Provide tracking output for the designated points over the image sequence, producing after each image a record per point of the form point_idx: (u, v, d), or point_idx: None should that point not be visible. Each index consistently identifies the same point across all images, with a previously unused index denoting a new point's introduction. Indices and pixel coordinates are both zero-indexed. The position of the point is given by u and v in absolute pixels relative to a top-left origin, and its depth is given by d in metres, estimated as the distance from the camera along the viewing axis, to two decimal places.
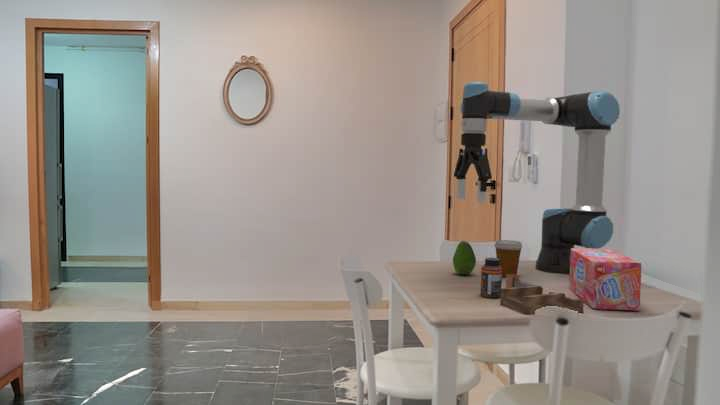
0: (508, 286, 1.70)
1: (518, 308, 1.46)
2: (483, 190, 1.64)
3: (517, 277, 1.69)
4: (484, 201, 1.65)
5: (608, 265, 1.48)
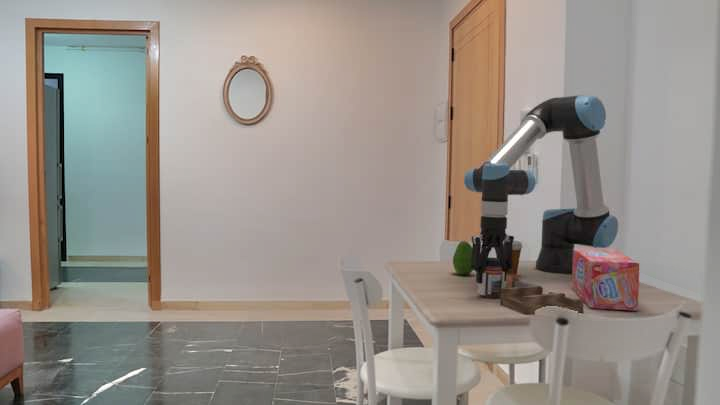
0: (508, 286, 1.70)
1: (518, 308, 1.46)
2: (477, 281, 1.60)
3: (517, 277, 1.69)
4: (482, 294, 1.60)
5: (606, 265, 1.49)
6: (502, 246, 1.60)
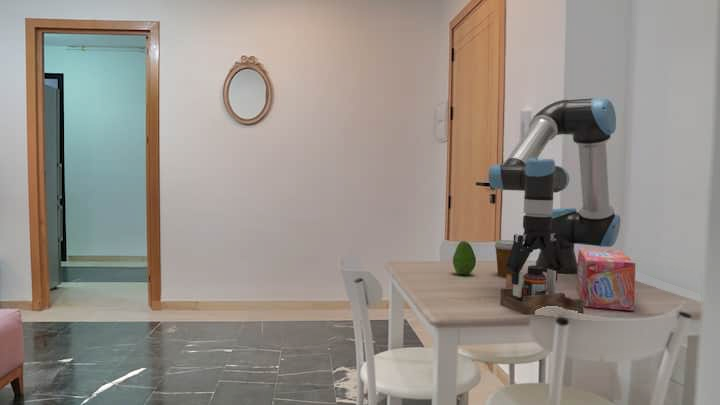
0: (508, 286, 1.70)
1: (518, 308, 1.46)
2: (512, 282, 1.48)
3: None
4: (518, 296, 1.47)
5: (601, 264, 1.49)
6: (548, 246, 1.49)
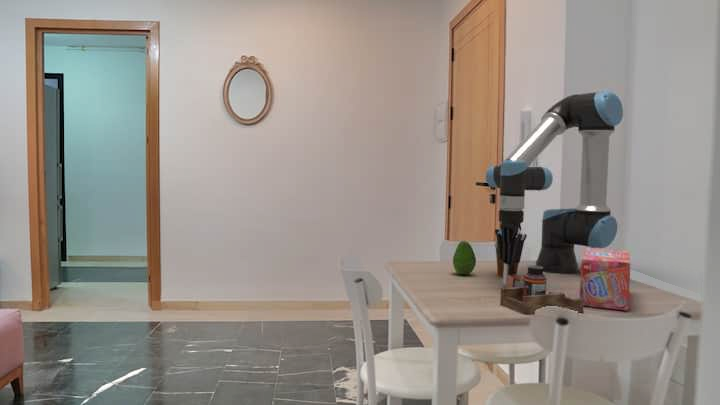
0: (508, 286, 1.70)
1: (518, 308, 1.46)
2: (511, 273, 1.70)
3: (518, 277, 1.69)
4: None
5: (595, 263, 1.51)
6: None
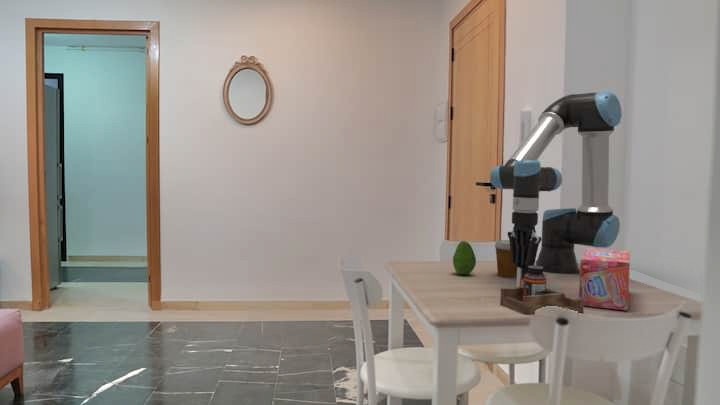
0: None
1: (518, 308, 1.46)
2: None
3: None
4: None
5: (594, 263, 1.51)
6: None
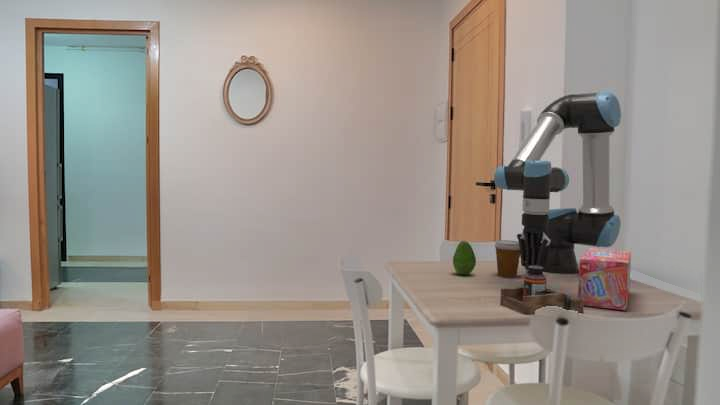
0: None
1: (518, 308, 1.46)
2: None
3: None
4: None
5: (593, 263, 1.51)
6: None
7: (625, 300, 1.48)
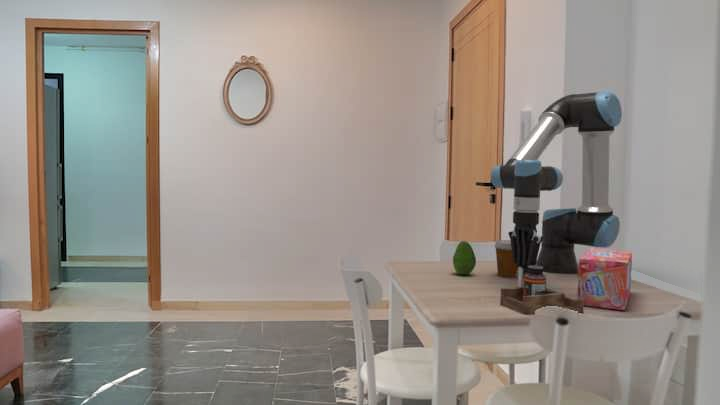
0: None
1: (518, 308, 1.46)
2: None
3: None
4: None
5: (592, 263, 1.51)
6: None
7: (624, 300, 1.48)
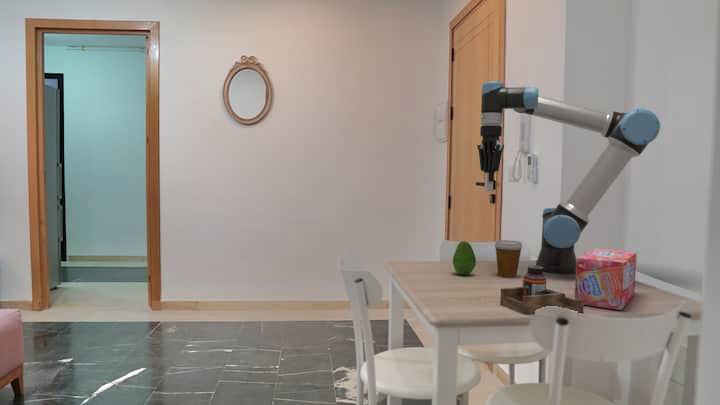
0: None
1: (518, 308, 1.46)
2: (491, 180, 1.97)
3: None
4: (492, 190, 1.98)
5: (589, 262, 1.52)
6: None
7: (620, 300, 1.48)
